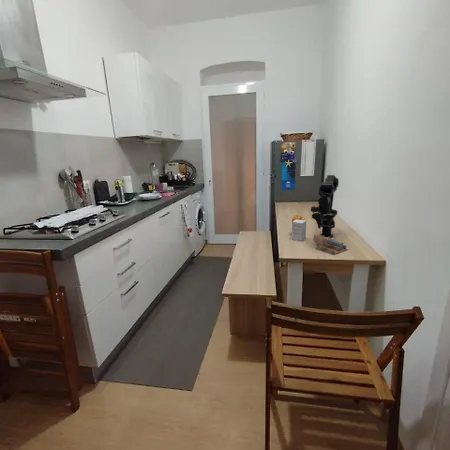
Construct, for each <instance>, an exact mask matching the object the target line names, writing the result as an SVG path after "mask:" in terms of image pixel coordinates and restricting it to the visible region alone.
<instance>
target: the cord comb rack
mask: <svg viewBox="0 0 450 450" xmlns="http://www.w3.org/2000/svg"><path fill="white" fill-rule="evenodd" d="M315 250H319V251H321V252H324V253H328V254H329V255H333V256H336V255H338V254H341V253H344V252H346V251H348V250H349V249H347V245H345V244H343V249H341V250H340V248H339V247H336V246H333V245H330V244H326V243H323V245H321V244H320V245H319V244H317V245H316V247H315Z"/></svg>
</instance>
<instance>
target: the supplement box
mask: <svg viewBox="0 0 450 450" xmlns="http://www.w3.org/2000/svg"><path fill="white" fill-rule="evenodd" d="M306 234H307V220H306V219H305V220H303V219H302V220H297V219H296V220H294V221H293V222H292V221H291V240H293V241H299V242H302V241H304V240H305V239H306Z"/></svg>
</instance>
